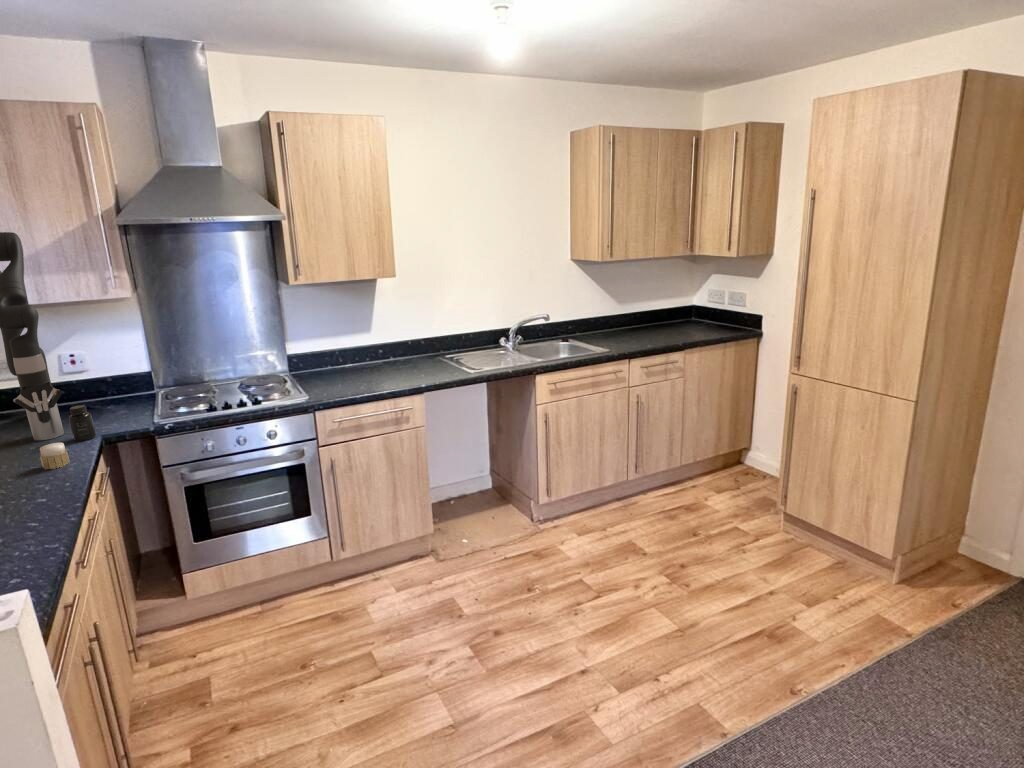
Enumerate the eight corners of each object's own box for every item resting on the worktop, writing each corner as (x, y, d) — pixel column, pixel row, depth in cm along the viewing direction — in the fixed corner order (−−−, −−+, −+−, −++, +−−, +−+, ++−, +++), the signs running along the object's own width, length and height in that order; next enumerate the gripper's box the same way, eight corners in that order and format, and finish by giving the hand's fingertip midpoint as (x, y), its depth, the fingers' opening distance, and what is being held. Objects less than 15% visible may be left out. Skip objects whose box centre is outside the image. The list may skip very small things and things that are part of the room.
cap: (40, 461, 199) (36, 447, 198) (63, 455, 204) (60, 441, 202) (47, 466, 195) (43, 451, 194) (70, 459, 200) (66, 445, 199)
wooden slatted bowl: (40, 466, 199) (37, 454, 198) (65, 459, 205) (62, 447, 203) (47, 471, 195) (44, 459, 194) (72, 463, 200) (69, 452, 199)
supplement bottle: (100, 434, 227) (93, 403, 224) (89, 441, 221) (81, 409, 217) (81, 435, 227) (74, 404, 224) (69, 442, 220) (61, 410, 217)
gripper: (52, 363, 198) (65, 414, 203) (1, 373, 188) (16, 426, 193) (60, 366, 194) (73, 418, 198) (8, 376, 184) (23, 430, 189)
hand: (45, 422), depth 196 cm, fingers closed
